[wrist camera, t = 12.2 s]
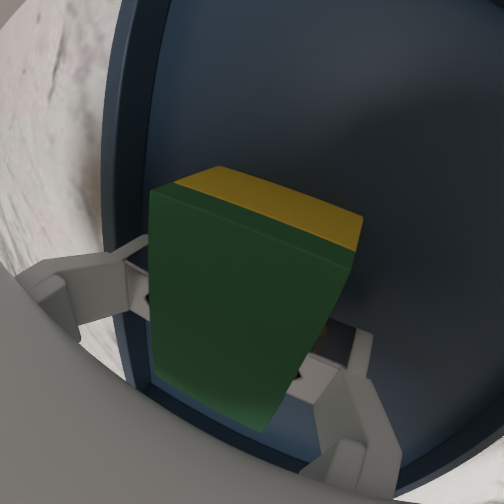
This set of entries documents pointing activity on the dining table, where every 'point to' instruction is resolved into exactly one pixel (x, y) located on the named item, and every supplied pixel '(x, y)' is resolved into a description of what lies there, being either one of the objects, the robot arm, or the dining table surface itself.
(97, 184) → the dining table surface
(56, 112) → the dining table surface
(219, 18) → the tray
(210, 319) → the sponge
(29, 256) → the dining table surface
